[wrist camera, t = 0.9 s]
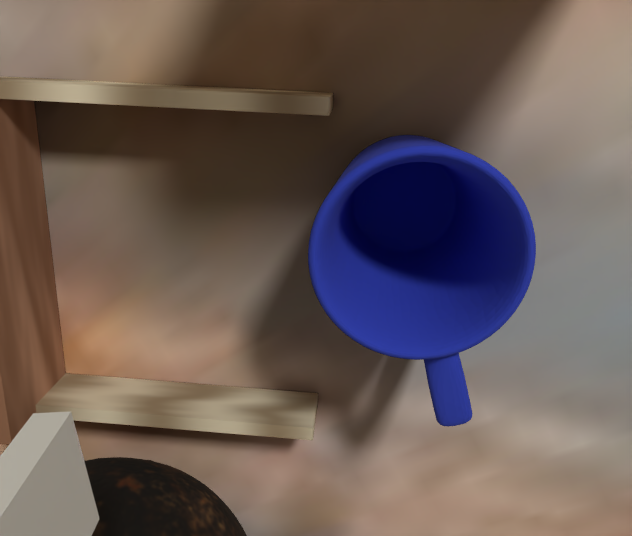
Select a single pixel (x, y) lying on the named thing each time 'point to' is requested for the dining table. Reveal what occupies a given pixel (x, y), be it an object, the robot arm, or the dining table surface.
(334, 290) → the mug
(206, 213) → the dining table surface
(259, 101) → the channel
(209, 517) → the dark brown vase
